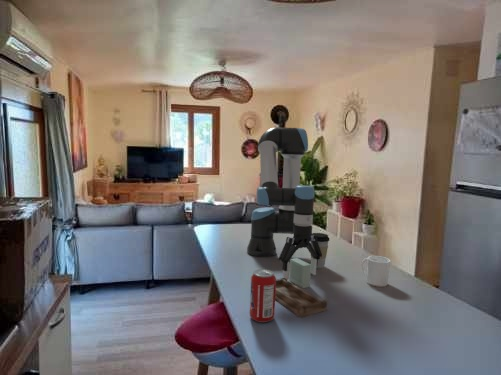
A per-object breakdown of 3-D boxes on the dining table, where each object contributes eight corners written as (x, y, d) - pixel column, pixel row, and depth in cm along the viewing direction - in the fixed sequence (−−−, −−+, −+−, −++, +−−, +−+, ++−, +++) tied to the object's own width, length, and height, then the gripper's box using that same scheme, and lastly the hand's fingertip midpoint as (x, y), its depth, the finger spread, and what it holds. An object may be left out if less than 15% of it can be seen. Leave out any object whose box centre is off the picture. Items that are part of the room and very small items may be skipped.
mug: (387, 281, 145) (389, 257, 144) (389, 289, 137) (391, 263, 135) (360, 277, 149) (362, 254, 147) (360, 284, 140) (361, 260, 139)
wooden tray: (261, 289, 131) (261, 282, 131) (284, 285, 137) (285, 277, 137) (300, 317, 111) (300, 308, 110) (326, 310, 116) (326, 301, 116)
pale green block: (289, 280, 142) (290, 259, 141) (295, 279, 144) (296, 258, 143) (302, 288, 134) (303, 265, 134) (309, 286, 136) (311, 264, 135)
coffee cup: (328, 270, 155) (330, 238, 154) (307, 268, 157) (308, 236, 156) (327, 264, 165) (329, 233, 163) (307, 262, 166) (309, 231, 165)
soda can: (266, 326, 104) (268, 279, 102) (244, 319, 108) (246, 273, 106) (278, 316, 111) (280, 271, 109) (257, 310, 115) (259, 266, 113)
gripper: (282, 228, 127) (279, 283, 129) (332, 224, 140) (329, 274, 142) (271, 224, 134) (268, 277, 136) (320, 220, 146) (317, 269, 148)
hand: (299, 276), depth 139 cm, fingers open, 13 cm apart
